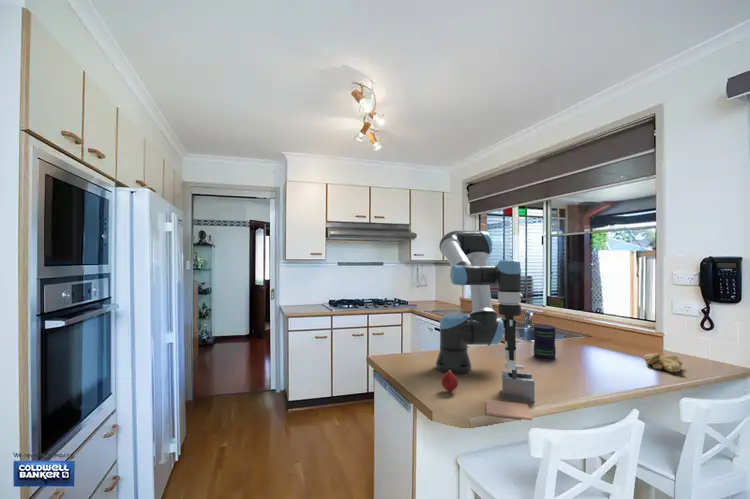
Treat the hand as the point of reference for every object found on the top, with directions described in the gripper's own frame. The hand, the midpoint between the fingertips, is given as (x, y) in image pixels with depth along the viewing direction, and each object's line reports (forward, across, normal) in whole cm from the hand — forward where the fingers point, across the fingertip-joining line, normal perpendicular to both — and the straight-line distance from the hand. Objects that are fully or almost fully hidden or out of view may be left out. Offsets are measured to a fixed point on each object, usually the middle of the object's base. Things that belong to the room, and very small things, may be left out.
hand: (510, 364), depth 128 cm
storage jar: (+10, +58, -19) cm, 62 cm away
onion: (+11, -4, +21) cm, 24 cm away
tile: (+11, -14, +2) cm, 17 cm away
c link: (+11, 0, -2) cm, 11 cm away
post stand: (+11, 0, -1) cm, 11 cm away
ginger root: (+11, +54, -66) cm, 86 cm away
